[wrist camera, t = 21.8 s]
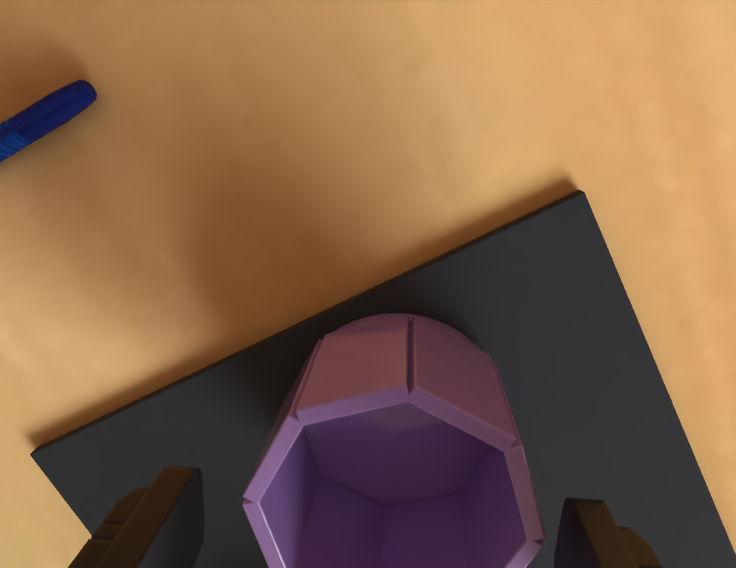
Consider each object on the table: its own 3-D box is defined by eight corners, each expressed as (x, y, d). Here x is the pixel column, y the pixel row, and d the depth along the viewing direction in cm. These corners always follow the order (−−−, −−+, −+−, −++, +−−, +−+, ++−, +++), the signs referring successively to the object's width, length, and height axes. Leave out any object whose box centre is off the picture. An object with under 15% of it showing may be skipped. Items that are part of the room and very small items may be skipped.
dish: (259, 441, 17) (207, 556, 12) (354, 273, 15) (329, 340, 11) (435, 529, 17) (442, 670, 13) (546, 377, 15) (597, 482, 11)
